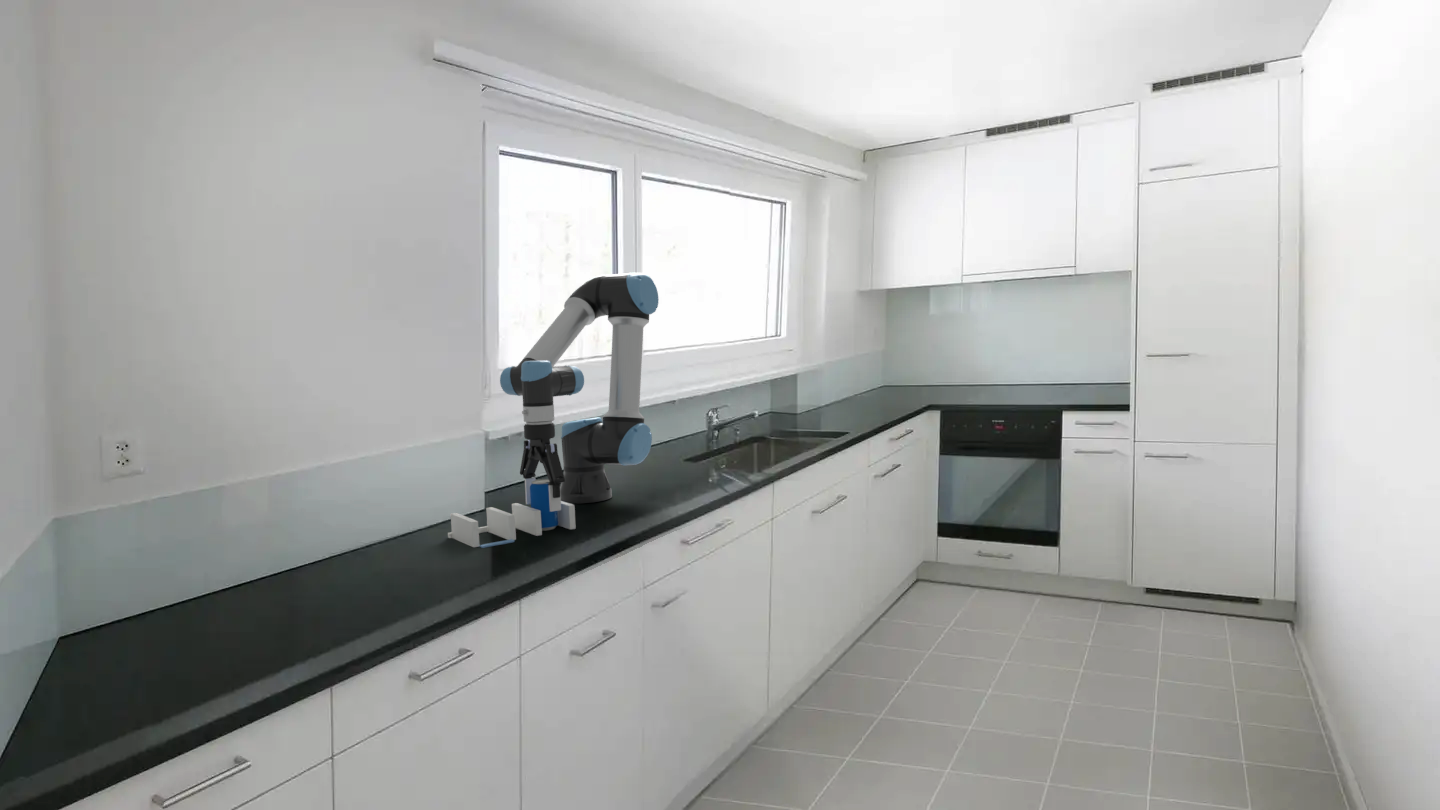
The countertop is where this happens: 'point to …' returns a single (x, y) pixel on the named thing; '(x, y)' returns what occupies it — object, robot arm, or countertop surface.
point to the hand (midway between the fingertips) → (543, 507)
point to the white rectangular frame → (507, 523)
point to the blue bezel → (496, 543)
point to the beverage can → (543, 503)
